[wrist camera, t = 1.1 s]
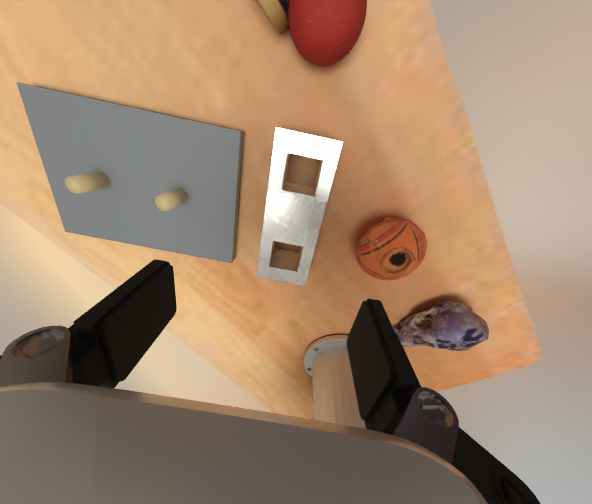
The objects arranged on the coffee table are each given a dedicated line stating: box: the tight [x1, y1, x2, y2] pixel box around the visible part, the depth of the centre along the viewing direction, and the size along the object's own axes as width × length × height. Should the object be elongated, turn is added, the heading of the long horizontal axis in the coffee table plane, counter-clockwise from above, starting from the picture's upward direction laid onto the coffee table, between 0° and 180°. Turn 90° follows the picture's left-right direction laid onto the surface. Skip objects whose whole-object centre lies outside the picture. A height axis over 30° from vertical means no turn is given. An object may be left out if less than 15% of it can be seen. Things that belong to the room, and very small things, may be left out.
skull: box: [393, 301, 489, 351], centre depth 32 cm, size 12×8×6 cm, turn 118°
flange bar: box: [256, 127, 343, 286], centre depth 25 cm, size 16×6×5 cm, turn 169°
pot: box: [356, 217, 427, 280], centre depth 26 cm, size 8×8×7 cm
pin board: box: [16, 82, 244, 263], centre depth 25 cm, size 16×22×5 cm
